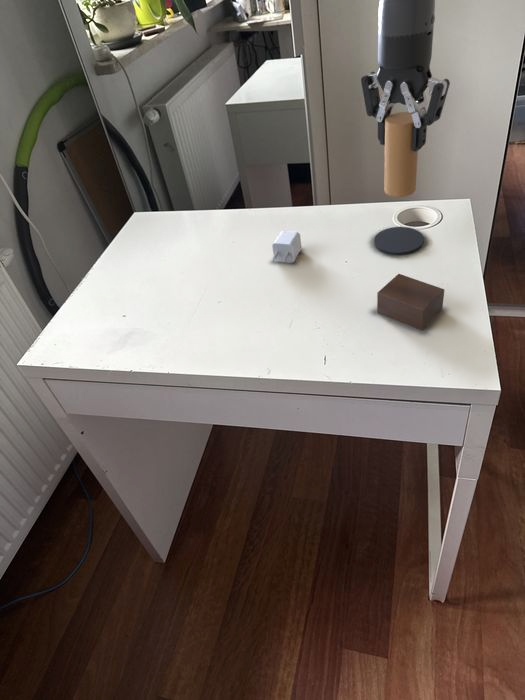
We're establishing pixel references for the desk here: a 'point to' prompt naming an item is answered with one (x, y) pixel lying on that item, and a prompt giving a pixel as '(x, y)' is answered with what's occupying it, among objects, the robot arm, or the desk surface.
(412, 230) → the coaster
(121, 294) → the desk surface
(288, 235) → the usb wall charger
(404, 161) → the tan cylinder
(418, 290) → the walnut block
